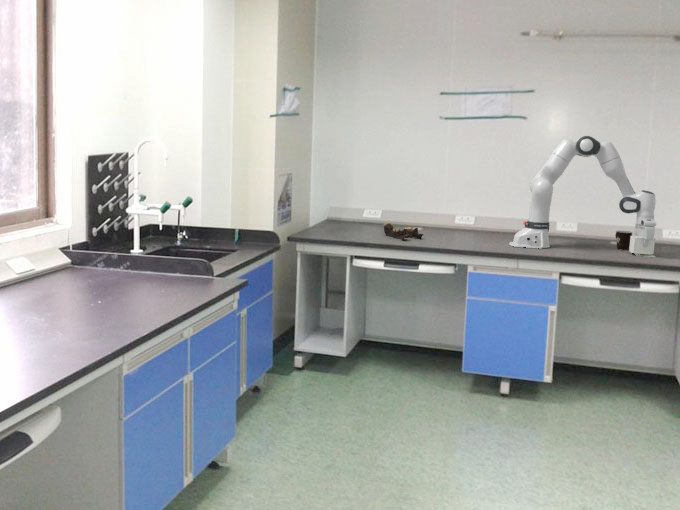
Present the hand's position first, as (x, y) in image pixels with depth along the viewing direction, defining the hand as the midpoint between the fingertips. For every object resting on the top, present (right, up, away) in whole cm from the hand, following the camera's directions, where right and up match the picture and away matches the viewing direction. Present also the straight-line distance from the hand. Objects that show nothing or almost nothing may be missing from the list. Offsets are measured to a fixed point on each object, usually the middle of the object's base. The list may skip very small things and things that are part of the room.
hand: (642, 245), depth 430 cm
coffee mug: (-4, -2, +21) cm, 21 cm away
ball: (0, -3, 0) cm, 3 cm away
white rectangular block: (0, -4, +1) cm, 4 cm away
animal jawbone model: (-127, +5, +37) cm, 133 cm away
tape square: (+1, -5, +1) cm, 5 cm away
